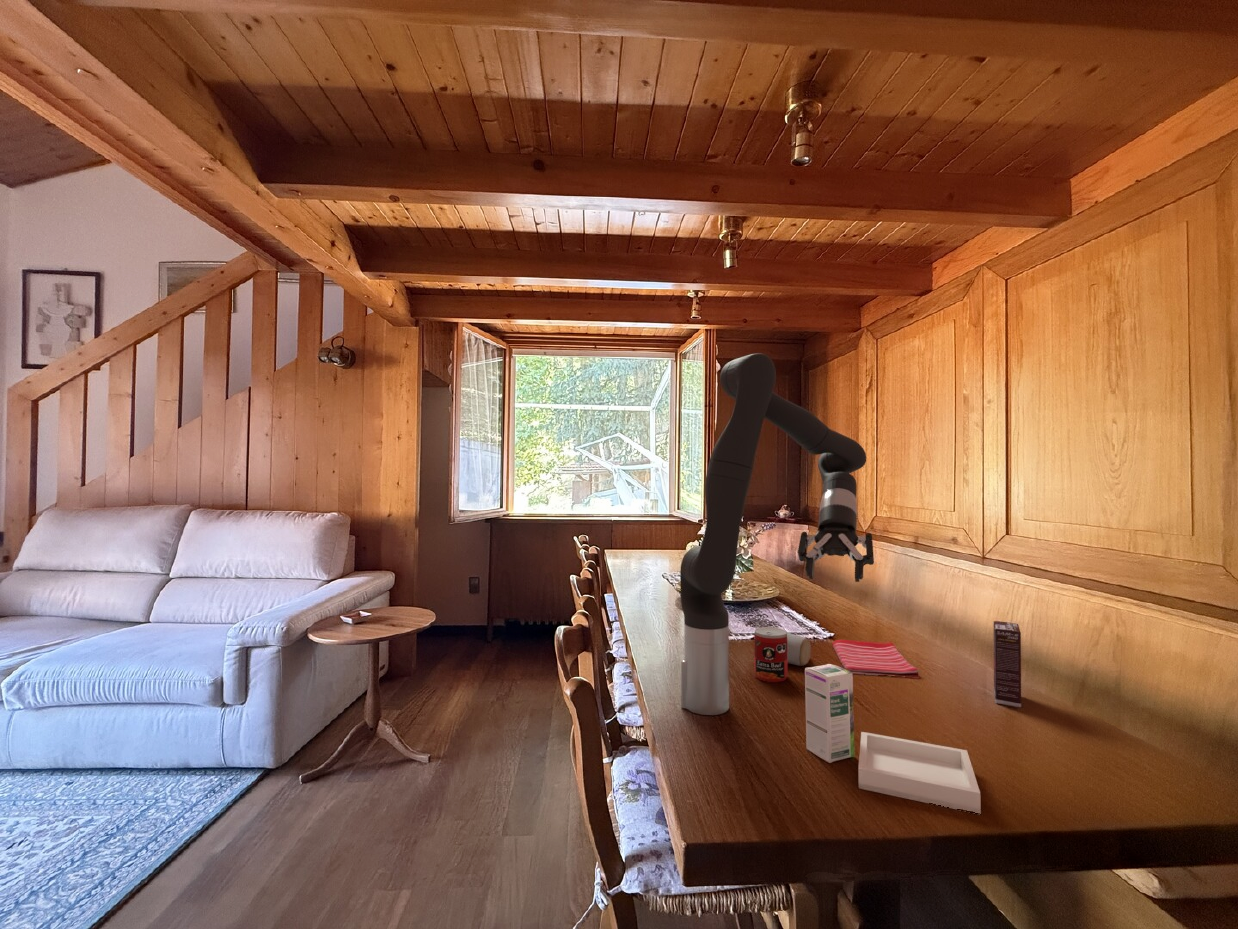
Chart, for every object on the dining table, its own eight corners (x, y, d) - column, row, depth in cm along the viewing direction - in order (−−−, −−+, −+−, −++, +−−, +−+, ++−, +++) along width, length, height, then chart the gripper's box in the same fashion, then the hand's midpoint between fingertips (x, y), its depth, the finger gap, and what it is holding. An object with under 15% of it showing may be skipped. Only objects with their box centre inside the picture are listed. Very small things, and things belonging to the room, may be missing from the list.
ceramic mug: (802, 670, 140) (802, 639, 140) (771, 663, 145) (771, 633, 145) (816, 660, 148) (816, 631, 149) (786, 654, 154) (786, 625, 154)
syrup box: (829, 764, 94) (828, 676, 94) (804, 748, 99) (804, 666, 100) (855, 757, 96) (854, 672, 96) (829, 742, 102) (828, 662, 102)
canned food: (752, 680, 133) (751, 633, 133) (757, 669, 140) (756, 625, 141) (785, 684, 130) (785, 637, 130) (788, 673, 138) (788, 628, 138)
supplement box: (1022, 708, 117) (1021, 632, 117) (994, 703, 119) (993, 628, 120) (1019, 695, 124) (1018, 623, 124) (993, 690, 127) (992, 620, 127)
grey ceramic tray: (858, 788, 87) (858, 768, 87) (861, 748, 99) (861, 731, 99) (980, 814, 80) (980, 793, 80) (967, 768, 92) (966, 750, 92)
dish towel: (895, 651, 157) (895, 641, 157) (921, 681, 134) (921, 669, 134) (831, 647, 161) (831, 638, 161) (846, 675, 138) (846, 664, 138)
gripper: (801, 503, 121) (793, 565, 111) (873, 503, 115) (872, 569, 104) (805, 525, 126) (798, 586, 116) (875, 526, 119) (874, 591, 109)
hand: (833, 578), depth 110 cm, fingers open, 8 cm apart
